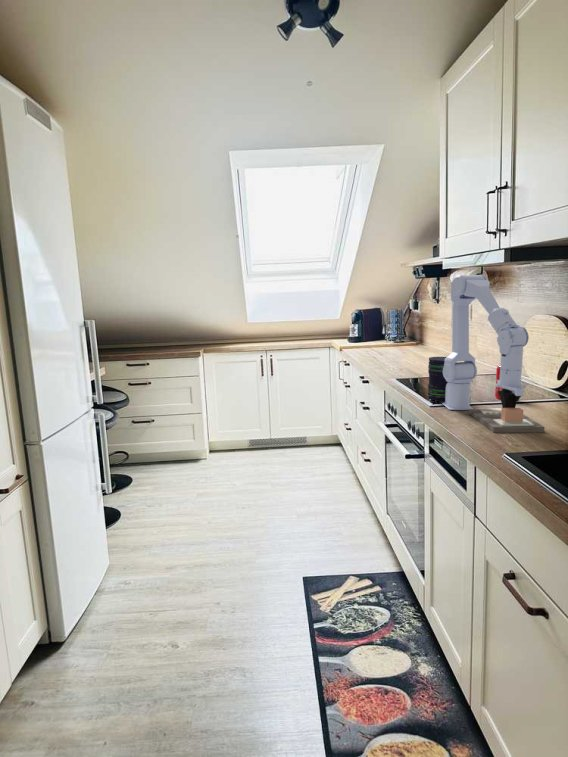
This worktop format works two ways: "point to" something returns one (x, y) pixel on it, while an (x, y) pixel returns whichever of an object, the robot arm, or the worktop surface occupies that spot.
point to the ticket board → (489, 414)
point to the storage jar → (436, 379)
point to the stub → (512, 418)
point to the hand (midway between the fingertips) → (508, 415)
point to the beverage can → (496, 382)
